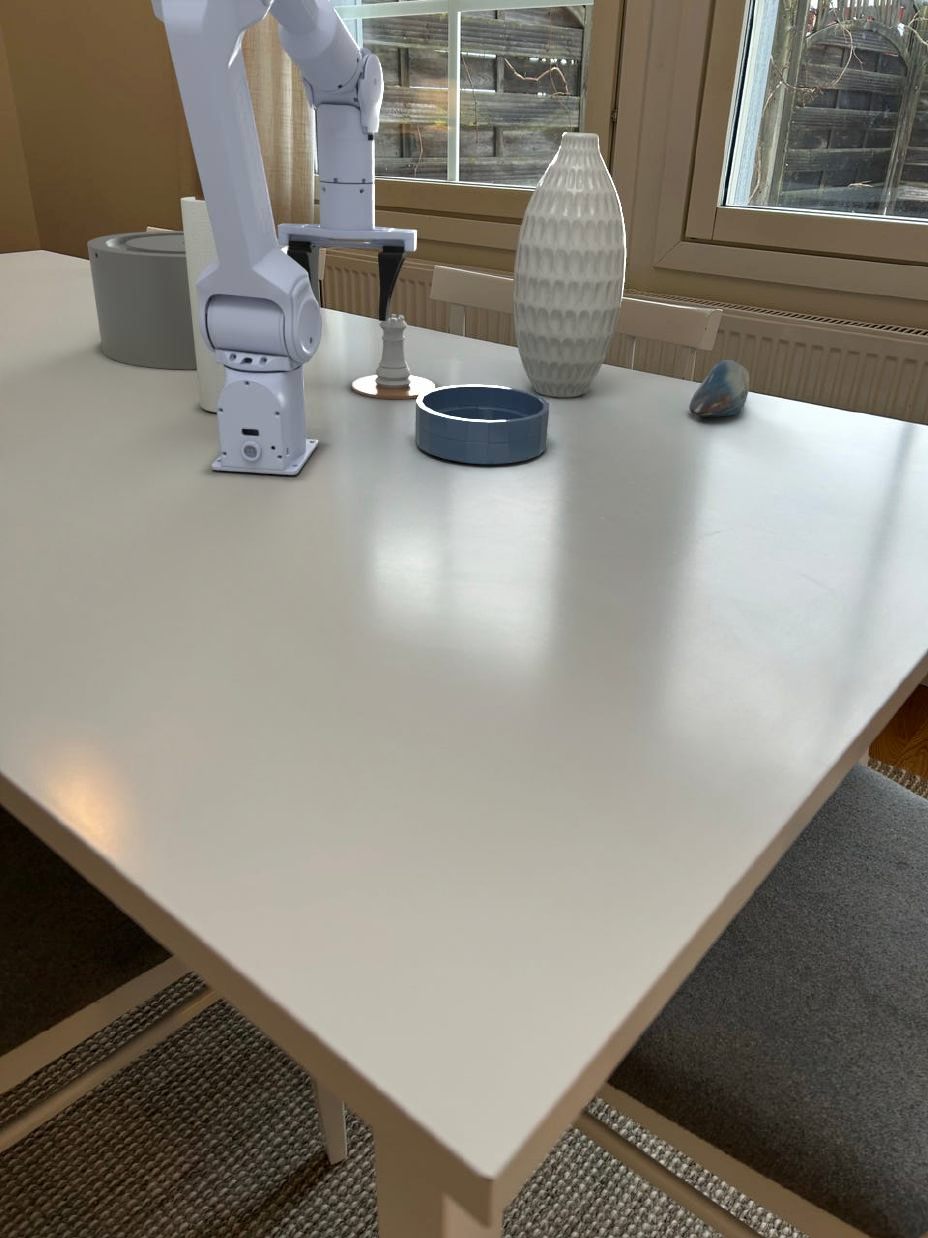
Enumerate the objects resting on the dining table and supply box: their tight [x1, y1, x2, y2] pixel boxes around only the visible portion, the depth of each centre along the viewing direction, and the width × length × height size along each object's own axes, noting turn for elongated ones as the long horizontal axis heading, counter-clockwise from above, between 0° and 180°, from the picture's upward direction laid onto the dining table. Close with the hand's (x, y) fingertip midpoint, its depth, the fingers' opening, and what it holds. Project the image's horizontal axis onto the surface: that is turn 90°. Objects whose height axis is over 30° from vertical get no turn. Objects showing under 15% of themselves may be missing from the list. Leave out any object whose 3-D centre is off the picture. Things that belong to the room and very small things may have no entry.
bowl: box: [414, 384, 550, 466], centre depth 96 cm, size 13×13×4 cm
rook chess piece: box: [374, 313, 412, 389], centre depth 113 cm, size 4×4×8 cm
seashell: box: [688, 359, 751, 418], centre depth 109 cm, size 6×9×10 cm
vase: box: [512, 131, 627, 399], centre depth 110 cm, size 13×13×28 cm
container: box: [86, 230, 289, 370], centre depth 126 cm, size 25×25×13 cm
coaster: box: [351, 374, 436, 400], centre depth 115 cm, size 10×10×1 cm
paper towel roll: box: [180, 194, 225, 413], centre depth 100 cm, size 7×6×21 cm
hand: (349, 317), depth 105 cm, fingers open, 7 cm apart
